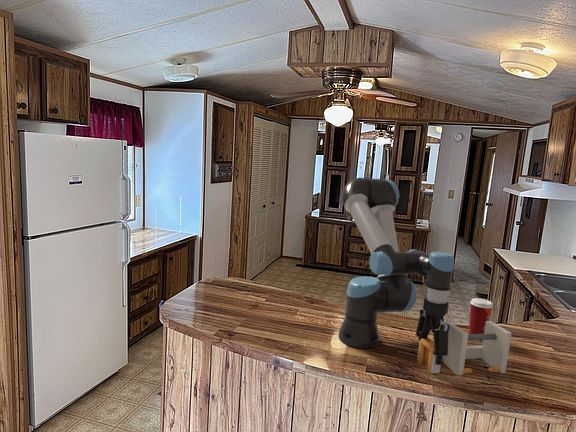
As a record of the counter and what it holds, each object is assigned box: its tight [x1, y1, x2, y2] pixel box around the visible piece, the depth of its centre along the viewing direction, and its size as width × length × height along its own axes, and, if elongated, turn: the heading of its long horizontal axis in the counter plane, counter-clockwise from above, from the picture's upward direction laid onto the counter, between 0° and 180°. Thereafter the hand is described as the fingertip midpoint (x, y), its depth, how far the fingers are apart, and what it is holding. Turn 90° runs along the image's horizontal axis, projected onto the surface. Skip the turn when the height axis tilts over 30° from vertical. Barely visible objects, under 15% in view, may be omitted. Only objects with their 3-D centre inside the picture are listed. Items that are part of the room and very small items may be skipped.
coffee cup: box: [468, 297, 494, 334], centre depth 159 cm, size 8×8×15 cm
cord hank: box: [417, 337, 440, 375], centre depth 131 cm, size 8×4×9 cm, turn 11°
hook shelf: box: [442, 320, 512, 376], centre depth 135 cm, size 18×12×14 cm, turn 102°
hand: (428, 365), depth 132 cm, fingers closed on cord hank, 8 cm apart
